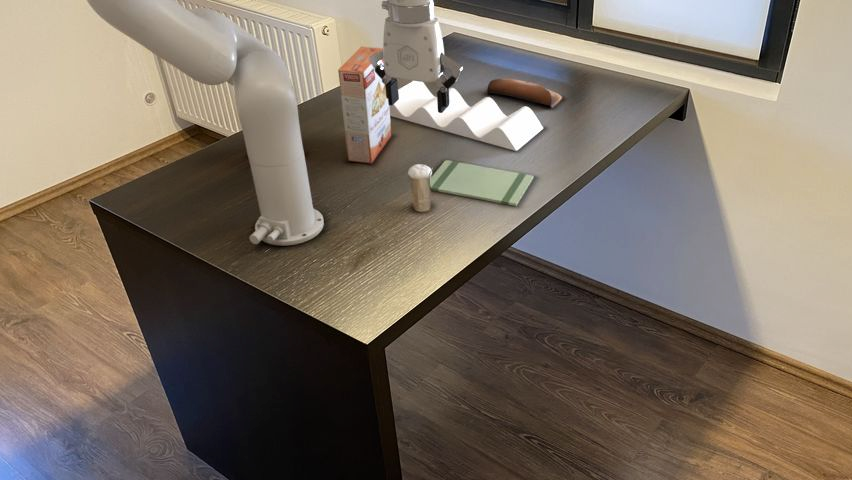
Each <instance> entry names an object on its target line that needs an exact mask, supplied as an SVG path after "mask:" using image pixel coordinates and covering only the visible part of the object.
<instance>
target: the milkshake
mask: <svg viewBox="0 0 852 480" xmlns="http://www.w3.org/2000/svg"><path fill="white" fill-rule="evenodd" d="M433 169H434V166H432V167H430V166H428V165H426V164H422V163H419V164H418V163H417V164H414V165H412V166H410V168H409V169H408V171H407V174H408V180H409V186H410V193H411V198H412V205H413V206H412V207H413V209H414V211H417V212H419V213H424V212H427V211H429V210H430V209H431V205H432V203H431V201H432V200H431V199H432V190H431V178H432V176H433Z"/></svg>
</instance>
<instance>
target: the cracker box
mask: <svg viewBox="0 0 852 480" xmlns="http://www.w3.org/2000/svg"><path fill="white" fill-rule="evenodd" d="M382 50H383V47H372V46H360V47H359V48H358V49H357V50H356V52H353V54H352V55H351V56H350V58H348V59H347V60H346V61H345V62H344V63H343V64H342V65H341V66H340V67H339V68H338V70H337V71H338V81H339V89H340V91H339V92H340V98H341V99H340V100H341V109H342V117H343V118H342V119H343V125H344V126H343V127H344V135H345V144H346V153H347V160H348V162H356V163H363V164H370V165H371V164H373V163H374V161H375V160H376V158H377V157H378V155H379V154H380V153H381V151H382V150H383V149H384V147H385V146H386V144H387V143H388V141H389V140H390V139H391V137H392V126H391V116H390V109H389V105H388V99H387V98H386V89H385V84H383V83H382V79H381V78H380V77H379V76H378V75H377V74H376V72H375V69H374V68H373V66H372V64H371V62H370V60H369V57H370V56H372V55H373V54H375V53H377V52H379V51H382ZM380 61H381V64H382V65H383V66H384V61H383V59H381V60H380Z"/></svg>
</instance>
